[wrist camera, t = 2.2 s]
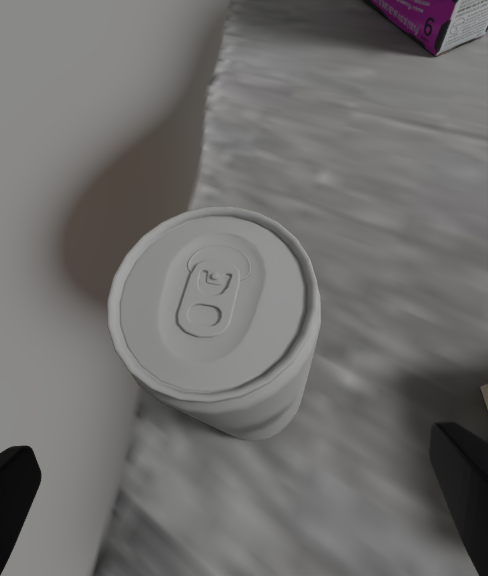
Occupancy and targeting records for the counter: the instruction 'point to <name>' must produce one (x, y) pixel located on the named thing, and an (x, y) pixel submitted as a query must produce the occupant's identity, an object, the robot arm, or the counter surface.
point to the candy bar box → (437, 21)
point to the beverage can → (219, 319)
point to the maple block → (485, 393)
